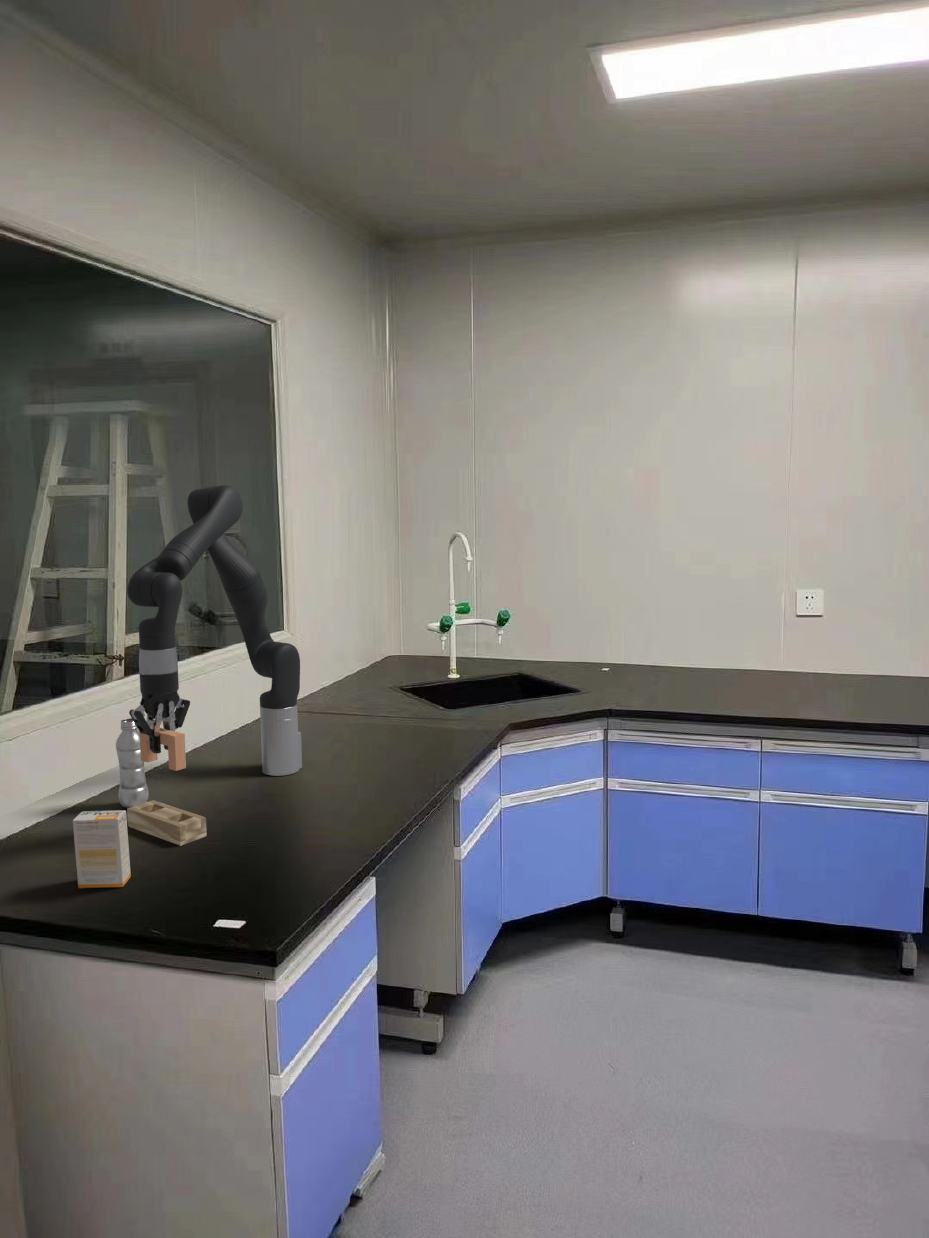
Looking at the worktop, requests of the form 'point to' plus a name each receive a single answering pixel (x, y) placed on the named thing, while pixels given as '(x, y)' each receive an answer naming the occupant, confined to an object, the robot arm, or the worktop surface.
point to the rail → (167, 822)
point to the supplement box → (101, 849)
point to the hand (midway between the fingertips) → (162, 750)
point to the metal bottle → (131, 766)
